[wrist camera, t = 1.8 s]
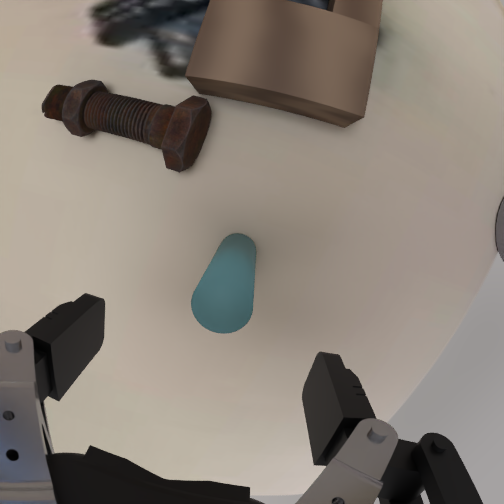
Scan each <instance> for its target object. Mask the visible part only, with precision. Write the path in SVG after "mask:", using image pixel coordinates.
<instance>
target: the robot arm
mask: <svg viewBox="0 0 504 504" xmlns="http://www.w3.org/2000/svg"><path fill="white" fill-rule="evenodd" d="M496 242H497V247H498V251H499V254H500V256H501V258H502V259H503V261H504V199H503V201H502V203H501V206H500V209H499V212H498V217H497V222H496ZM104 322H105V301H104V299H102V298H99V297H96V296H93V295H90V294H87V293H85V294H83V295H82V296H81V297H79V298H78V299H77V300H76V301H74V302H72V301H70V302H67V303H64V304H61V305H59V306H58V307H56V308H55V309H54V310H52V312H50V313H48V314H47V315H46V316H45V317H43V318H42V319H41V320H39V321H38V322H37V323H36V324H34V325H33V326H32V327H30V328H29V329H28V330H27V331H25V332H22V331H18V330H9V331H5V332H2V333H0V504H264V503H262V502H259V501H257V500H255V499H252V498H250V487H244V486H237V485H230V484H224V483H218V482H213V481H183V480H167V479H163V478H161V477H159V476H157V475H155V474H153V473H151V472H149V471H147V470H145V469H144V468H142V467H140V466H138V465H136V464H134V463H133V462H131V461H129V460H127V459H125V458H122V457H119V456H117V455H114V454H111V453H108V452H106V451H103V450H101V449H98V448H96V447H93V446H91V445H90V446H89V448H88V450H87V452H86V454H79V453H55V452H54V449H53V445H52V441H51V436H50V431H49V426H48V421H47V415H46V409H45V404H44V400H45V399H46V397H47V396H49V397H51V398H53V399H55V400H57V401H60V399H61V398H62V397H63V396H64V394H65V393H66V392H67V390H68V389H69V388H70V386H71V385H72V384H73V383H74V381H75V380H76V379H77V377H78V376H79V375H80V374H81V372H82V371H83V370H84V369H85V367H86V366H87V365H88V364H89V362H90V361H91V360H92V359H93V357H94V356H95V355H96V354H97V352H98V351H99V350H100V348H101V346H102V343H103V340H104ZM365 395H366V394H365V392H364V389H362V385H361V383H360V381H359V378H358V377H357V376H356V375H355V374H354V373H353V372H352V371H351V370H350V369H345V366H344V364H343V362H342V359H341V357H340V355H338V354H332V353H326V352H319V353H318V354H317V356H316V358H315V360H314V363H313V365H312V368H311V370H310V372H309V375H308V377H307V380H306V382H305V384H304V388H303V393H302V401H303V406H304V412H305V417H306V423H307V428H308V434H309V440H310V445H311V451H312V457H313V463H314V465H322V466H326V468H325V469H324V470H323V472H322V473H321V474H320V475H319V477H318V478H317V479H316V480H315V481H314V483H313V484H312V485H311V486H310V487H309V489H308V490H307V491H306V492H305V493H304V494H303V496H302V497H301V498H300V499H299V500H298V501H297V502H296V503H295V504H374V502H375V500H376V498H377V497H378V498H379V501H380V504H423V500H422V498H421V495H420V494H421V493H422V492H423V491H424V490H425V491H426V493H427V496H428V499H429V502H430V504H483V502H482V500H481V498H480V496H479V494H478V492H477V490H476V488H475V486H474V484H473V482H472V480H471V478H470V476H469V474H468V472H467V470H466V468H465V466H464V464H463V462H462V460H461V458H460V456H459V454H458V452H457V451H456V449H455V447H454V445H453V443H452V442H451V441H450V440H449V439H447V438H446V437H445V436H443V435H440V434H438V433H427V434H425V435H424V436H423V437H422V438H421V440H420V441H419V442H418V443H415V442H410V441H405V440H401V439H398V435H397V432H396V431H395V429H394V428H393V427H392V426H391V425H389V424H388V423H386V422H384V421H382V420H379V419H376V416H375V414H374V412H373V409H372V407H371V405H370V403H369V400H368V398H367V396H365Z"/></svg>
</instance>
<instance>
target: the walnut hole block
mask: <svg viewBox="0 0 504 504" xmlns="http://www.w3.org/2000/svg"><path fill="white" fill-rule="evenodd" d="M382 2H383V0H329V3H328V8H327V10H323V9H320V8H316V7H312V6H308V5H304V4H300V3H296V2H291V1H287V0H210V3H209V6H208V8H207V11H206V14H205V16H204V19H203V22H202V25H201V28H200V30H199V33H198V36H197V39H196V42H195V45H194V48H193V51H192V54H191V58H190V61H189V64H188V67H187V71H186V74H185V76H186V78H187V79H188V80H189V81H190V83H191V84H192V85H193V86H194V88H195V89H196V90H197V92H198V93H199V94H204V95H211V96H217V97H222V98H228V99H233V100H238V101H244V102H248V103H253V104H258V105H262V106H267V107H271V108H275V109H280V110H284V111H288V112H292V113H295V114H299V115H303V116H307V117H310V118H314V119H317V120H321V121H324V122H328V123H331V124H334V125H337V126H341V127H344V128H345V127H347V126H349V125H350V124H352V123H354V122H356V121H358V120H360V119H362V118H364V115H365V110H366V105H367V100H368V94H369V89H370V83H371V78H372V72H373V66H374V60H375V54H376V47H377V41H378V34H379V26H380V19H381V10H382Z"/></svg>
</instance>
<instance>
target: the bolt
mask: <svg viewBox="0 0 504 504" xmlns="http://www.w3.org/2000/svg"><path fill="white" fill-rule="evenodd" d="M42 112H43V113H44V112H45V114H44V116H45V117H47V118H50V119H55V120H59V121H63V123H64V125H65V126H66V128H67V129H68V130H69V131H70V133H71V134H73V135H76V136H80V137H83V136H85V135H88V134H90V133H92V132H94V131H95V130H99V131H103V132H108V133H111V134H114V135H118V136H122V137H126V138H129V139H133V140H136V141H139V142H143V143H147V144H150V145H151V146H152V147H155V148H159V149H162V152H163V156H164V160H165V164H166V168H168V169H171V170H174V171H177V172H181V171H184V170H186V169H188V168H189V167H191V166H192V164H193V163H194V161H195V159H196V158H197V156H198V154H199V152H200V150H201V148H202V145H203V143H204V140H205V138H206V135H207V131H208V128H209V124H210V119H211V108H210V105H209V103H208V101H207V99H205V98H201V97H198V96H194V95H193V96H191V97H190V98H188V99H186V100H185V101H183V102H181V103H180V104H178V105H176V107H175V106H171V105H167V104H166V105H161V104H157V103H153V102H148V101H145V100H141V99H137V98H131V97H127V96H121V95H117V94H111V93H108V91H107V89H106V87H105V85H104V84H103V83H102V81H97V80H88V81H84V82H81V83H79V84H77V85H75V86H74V87H70V86H65V85H64V86H63V85H56V86H54V87H53V88H52V89H51V90H50V92H49V93H48V95H47V96H46V98H45V100H44V101H43V103H42Z"/></svg>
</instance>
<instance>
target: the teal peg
mask: <svg viewBox="0 0 504 504" xmlns="http://www.w3.org/2000/svg"><path fill="white" fill-rule="evenodd" d="M255 263H256V247H255V244H254V242H253V241H252V240H251V239H250V238H249V237H248V236H246V235H244V234H238V233H236V234H231V235H229V236H227V237H226V238H225V239H224V240H223V241H222V243H221V245H220V246H219V248H218V250H217V252H216V253H215V255H214V257H213V259H212V260H211V262H210V264H209V266H208V268H207V269H206V271H205V273H204V275H203V277H202V278H201V280H200V282H199V284H198V286H197V287H196V289H195V291H194V293H193V295H192V300H191V307H192V311H193V314H194V316H195V318H196V319H197V321H198V322H199V323H200V324H201V325H202V326H203V327H205V328H206V329H208V330H210V331H213V332H216V333H232V332H235V331H237V330H239V329H241V328H242V327H244V326H245V325H246V324H247V322H248V321H249V320H250V318H251V315H252V311H253V298H254V280H255Z"/></svg>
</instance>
